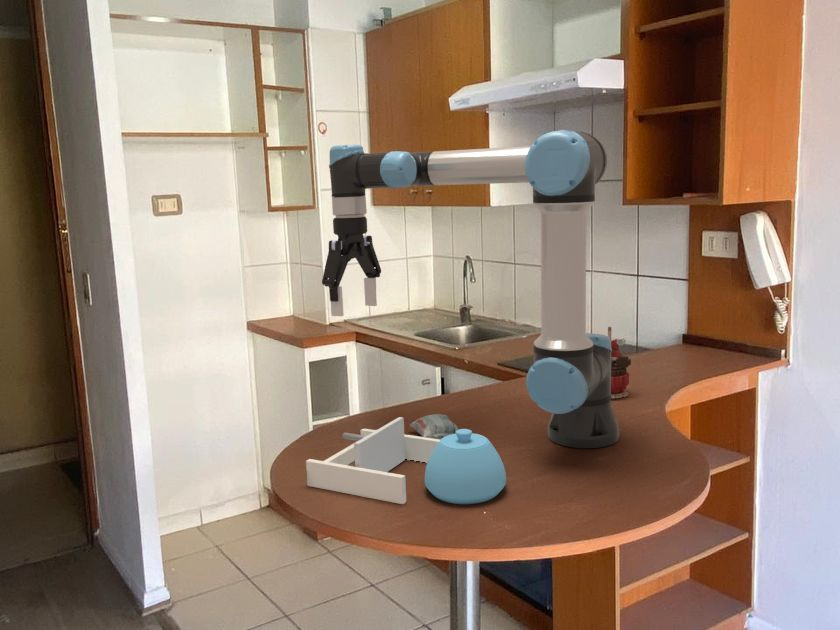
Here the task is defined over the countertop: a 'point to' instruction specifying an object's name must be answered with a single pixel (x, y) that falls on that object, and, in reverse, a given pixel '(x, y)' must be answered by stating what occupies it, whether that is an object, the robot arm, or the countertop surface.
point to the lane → (367, 472)
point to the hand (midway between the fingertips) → (354, 310)
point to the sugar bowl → (465, 469)
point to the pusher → (380, 447)
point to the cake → (618, 368)
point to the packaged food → (434, 426)
